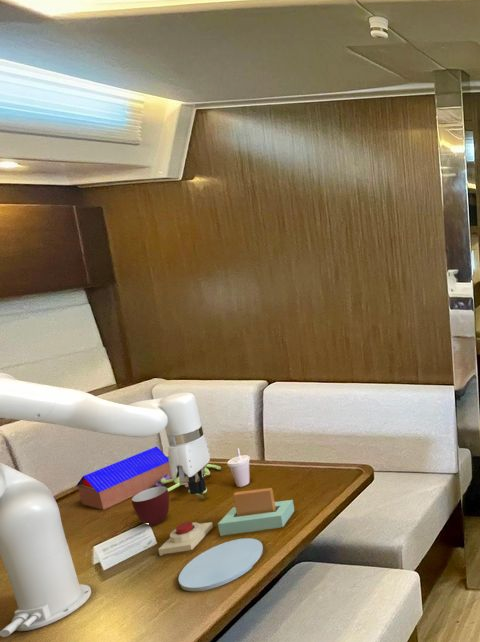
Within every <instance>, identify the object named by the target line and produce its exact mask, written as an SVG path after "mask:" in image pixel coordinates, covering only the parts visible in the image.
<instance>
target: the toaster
mask: <svg viewBox="0 0 480 642" xmlns="http://www.w3.org/2000/svg"><path fill="white" fill-rule="evenodd" d="M275 507H276V512H269V513H262V514H254V515H247V516H239V517H237V512H236V507H235V506H233V507H231V508H230V510H229V511H228V512H227V513H226V514H225V515H224V516H223V517H222V519H220V521H219V522H218V523H217V528H218V533H219V536H220V537H221V536H229V535H235V534H242V533H250V532H251V533H252V532H256V531H265V530H271V529H279V528H284V527H285V525H286V524H287V522H288V521H289V519H290V518H291V516H292V515H293V514H294V512H295V506H294V500H293V499H288V500H287V499H286V500H280V501H275Z"/></svg>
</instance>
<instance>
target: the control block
mask: <svg viewBox="0 0 480 642" xmlns="http://www.w3.org/2000/svg"><path fill="white" fill-rule="evenodd" d="M192 524H193V529H192V530H191V531H189V532H188V533H185V534H181V535H177V532H176V528H175V529H173V530H172V531H171V532H170V534H169V538H168V539H167V540H166V541H165V542H164V543H163V544H162V545H161V546H160V547H159V548H158V555H159V556H160V557H162V556H163V555H167V554H173V553H180V552H187V551H192V550H194V548H195V547H196V546H197V545H198V544H199V543H200V542H201V541H202V540H203V539H204V537H205V536H206V535H208V533H209V532H210V531H211V530H212V529H213V527H214V526H213V525H214V524H213V521H211V522H203V523H199V522H196V521H195V522H192Z"/></svg>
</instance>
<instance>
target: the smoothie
mask: <svg viewBox="0 0 480 642" xmlns="http://www.w3.org/2000/svg"><path fill="white" fill-rule="evenodd" d="M236 451H237V456H234V457H233V458H231V459H229V460H228V461H227V467H229V469H230V472H231V475H232V477H233V480H234V482H235V485H236V487H237V488H242V487H245V486H247V485H248V484H250V479H251V478H250V460H251V457H250V455H248V454H242V455H241V451H240V448H239V447H238V448H237V447H236Z"/></svg>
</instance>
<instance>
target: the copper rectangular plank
mask: <svg viewBox="0 0 480 642" xmlns="http://www.w3.org/2000/svg"><path fill="white" fill-rule="evenodd" d="M232 496H233V501H234V507H236V512H237V517H239V516H247V515H254V514H262V513H269V512H276V507H275V502H276V501H275V495H274V490H273V488H272V487H266V488H259V489H251V490H242V491H235V492H234V494H233V495H232Z"/></svg>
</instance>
